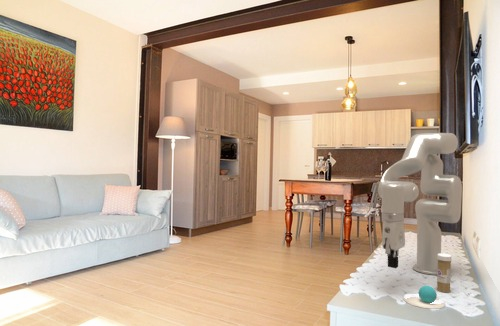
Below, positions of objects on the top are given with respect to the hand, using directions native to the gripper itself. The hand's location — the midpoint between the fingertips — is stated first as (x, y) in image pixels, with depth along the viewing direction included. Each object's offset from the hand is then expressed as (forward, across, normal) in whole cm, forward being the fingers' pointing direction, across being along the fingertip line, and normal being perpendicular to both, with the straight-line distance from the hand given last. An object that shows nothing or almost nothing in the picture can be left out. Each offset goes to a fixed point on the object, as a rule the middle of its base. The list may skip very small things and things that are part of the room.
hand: (392, 267), depth 129 cm
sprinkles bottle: (+10, +15, -13) cm, 22 cm away
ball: (+6, -1, -12) cm, 14 cm away
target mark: (+9, -1, -11) cm, 14 cm away
